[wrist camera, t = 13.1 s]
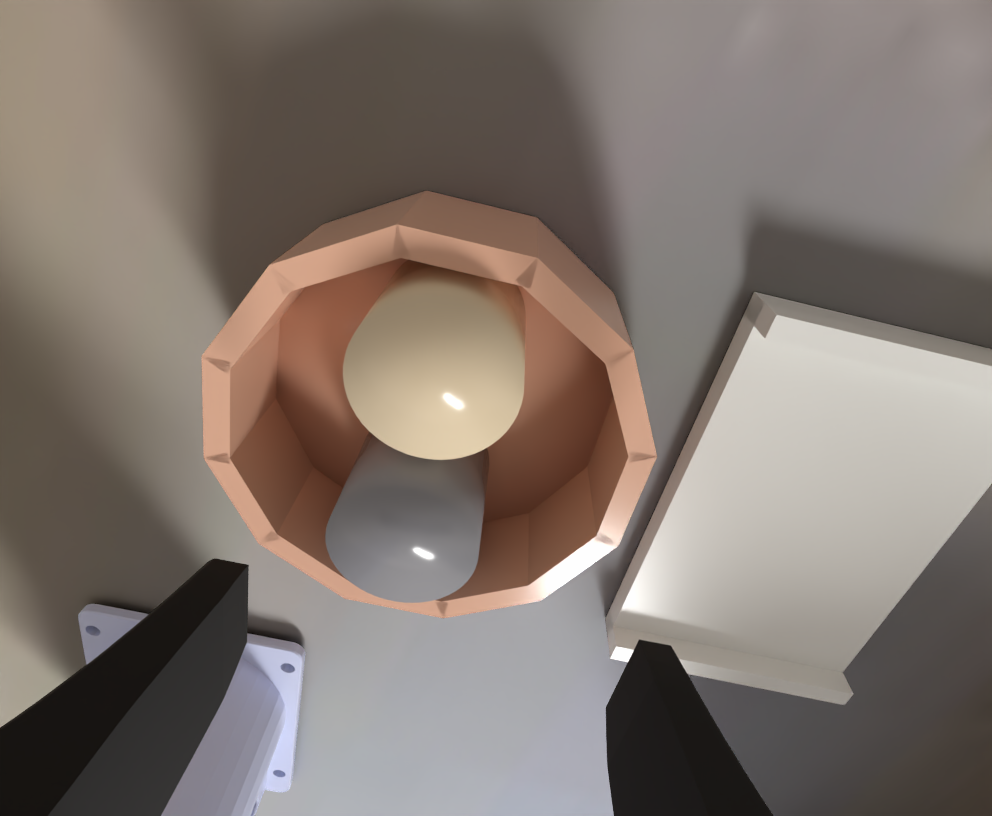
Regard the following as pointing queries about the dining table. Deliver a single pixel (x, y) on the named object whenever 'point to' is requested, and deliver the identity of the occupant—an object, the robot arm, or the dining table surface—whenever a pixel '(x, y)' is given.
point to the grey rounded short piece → (408, 523)
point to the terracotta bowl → (340, 434)
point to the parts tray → (807, 497)
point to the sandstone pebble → (438, 362)
